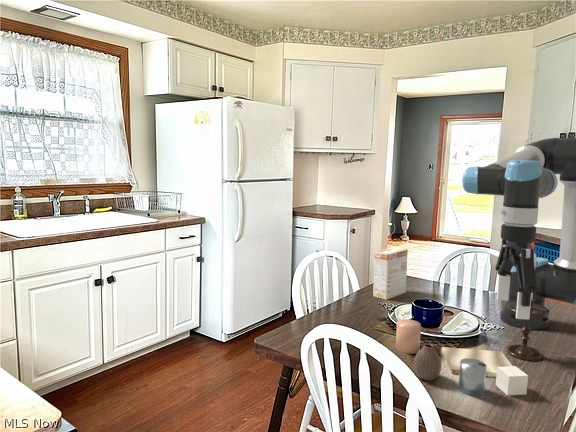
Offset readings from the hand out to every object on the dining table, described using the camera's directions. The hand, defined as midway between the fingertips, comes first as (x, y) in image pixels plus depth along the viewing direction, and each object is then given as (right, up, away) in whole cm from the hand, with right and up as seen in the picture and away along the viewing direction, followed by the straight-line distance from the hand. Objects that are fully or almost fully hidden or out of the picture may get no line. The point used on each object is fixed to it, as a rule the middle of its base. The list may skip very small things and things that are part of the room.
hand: (511, 308), depth 108 cm
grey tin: (-10, -21, +1) cm, 23 cm away
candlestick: (+15, -18, +22) cm, 32 cm away
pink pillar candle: (-19, -17, +25) cm, 36 cm away
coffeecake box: (-12, -11, +77) cm, 79 cm away
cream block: (+1, -21, +2) cm, 21 cm away
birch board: (-2, -19, +15) cm, 24 cm away
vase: (-19, -20, +8) cm, 28 cm away
